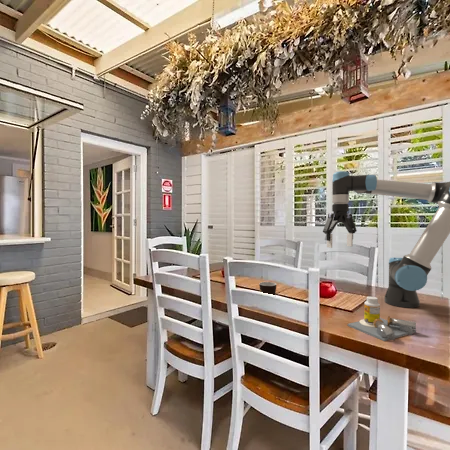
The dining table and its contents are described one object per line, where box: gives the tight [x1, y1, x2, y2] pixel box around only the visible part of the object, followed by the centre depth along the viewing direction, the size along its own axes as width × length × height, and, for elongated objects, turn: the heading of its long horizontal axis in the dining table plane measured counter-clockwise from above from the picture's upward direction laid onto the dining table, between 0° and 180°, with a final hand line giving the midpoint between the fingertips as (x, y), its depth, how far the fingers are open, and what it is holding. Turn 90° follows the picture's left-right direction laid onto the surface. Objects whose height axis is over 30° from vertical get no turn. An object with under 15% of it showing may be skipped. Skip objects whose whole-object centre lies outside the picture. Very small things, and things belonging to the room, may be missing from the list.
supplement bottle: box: [363, 296, 381, 325], centre depth 118 cm, size 6×6×10 cm
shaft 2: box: [387, 315, 417, 336], centre depth 112 cm, size 9×4×5 cm, turn 56°
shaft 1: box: [373, 319, 396, 341], centre depth 108 cm, size 9×4×5 cm, turn 176°
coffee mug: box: [258, 281, 277, 296], centre depth 149 cm, size 12×9×10 cm
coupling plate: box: [347, 317, 417, 342], centre depth 115 cm, size 18×16×1 cm
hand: (339, 246), depth 145 cm, fingers open, 13 cm apart
